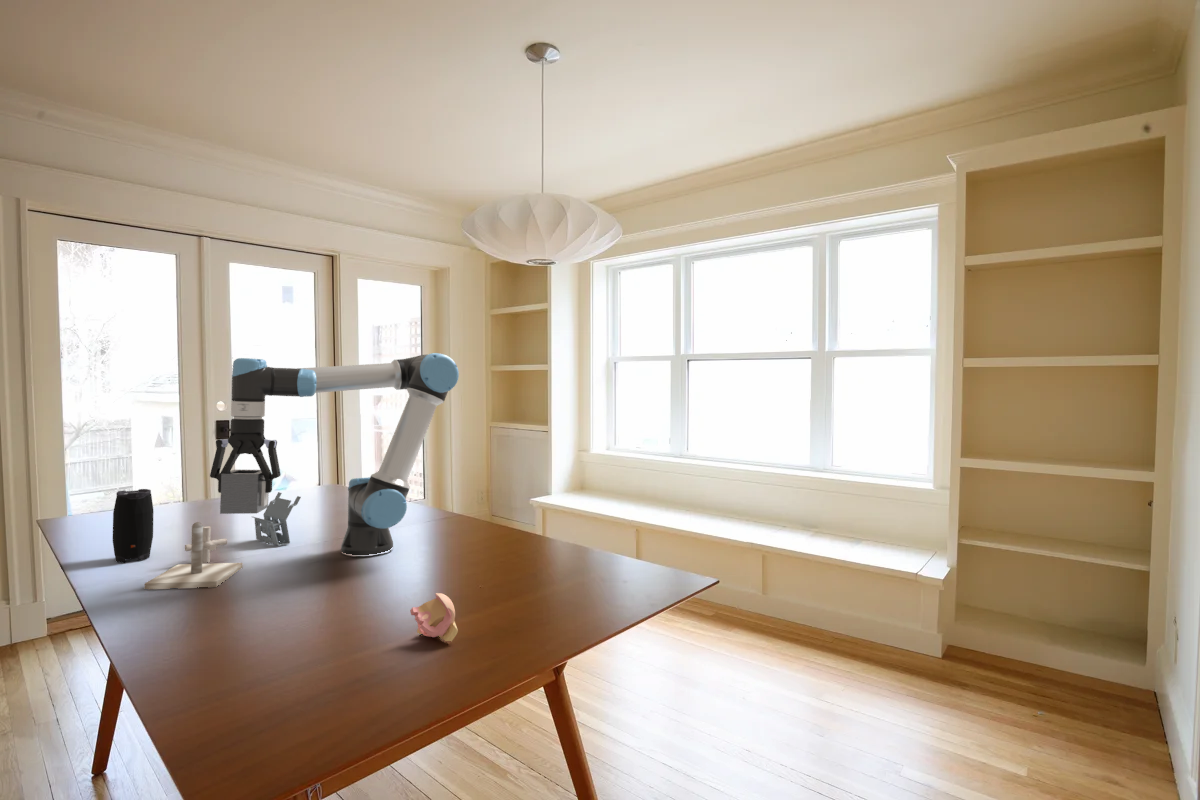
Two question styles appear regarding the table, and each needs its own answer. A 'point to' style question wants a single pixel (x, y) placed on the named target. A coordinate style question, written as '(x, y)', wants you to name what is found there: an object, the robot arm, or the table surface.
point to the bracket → (275, 521)
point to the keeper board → (194, 579)
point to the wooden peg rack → (207, 544)
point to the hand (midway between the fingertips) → (244, 505)
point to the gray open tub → (241, 492)
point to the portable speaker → (133, 525)
